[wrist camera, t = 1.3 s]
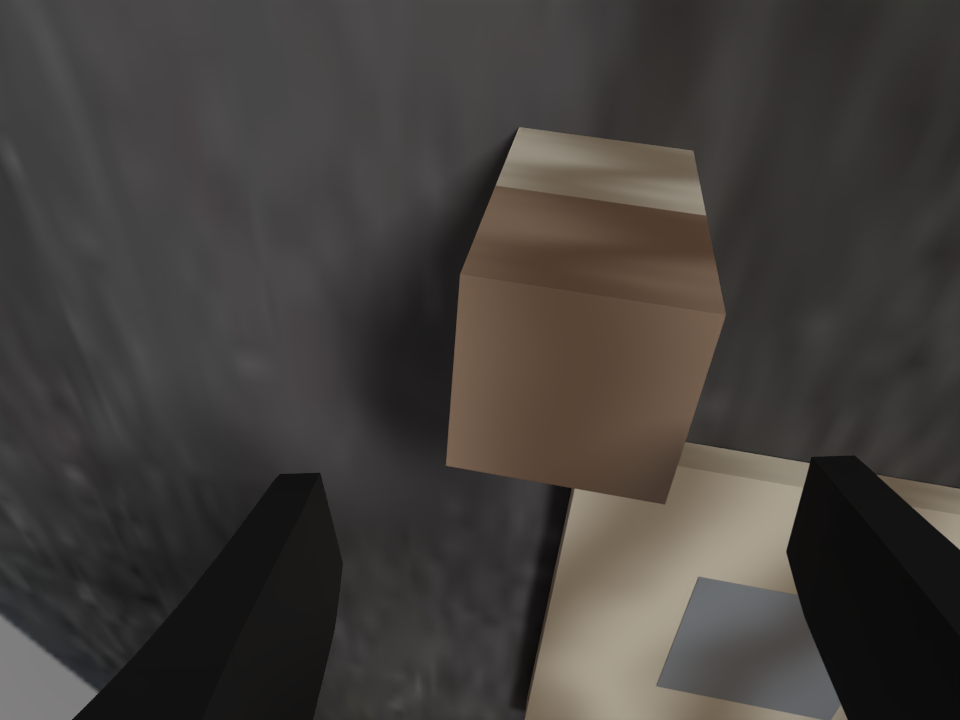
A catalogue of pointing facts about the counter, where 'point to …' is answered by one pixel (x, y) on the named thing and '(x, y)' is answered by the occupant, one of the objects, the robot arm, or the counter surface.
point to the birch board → (692, 599)
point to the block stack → (585, 317)
